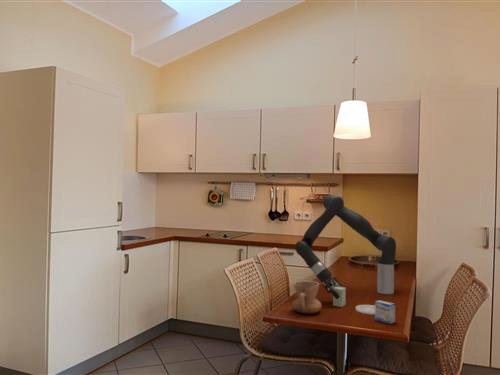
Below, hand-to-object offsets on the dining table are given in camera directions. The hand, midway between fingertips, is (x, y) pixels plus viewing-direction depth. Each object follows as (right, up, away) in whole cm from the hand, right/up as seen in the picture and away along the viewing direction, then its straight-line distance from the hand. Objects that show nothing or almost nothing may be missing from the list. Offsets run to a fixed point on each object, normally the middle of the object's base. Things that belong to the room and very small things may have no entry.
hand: (341, 296), depth 216 cm
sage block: (-1, -5, +1) cm, 5 cm away
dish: (+12, -5, -9) cm, 16 cm away
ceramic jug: (-20, -5, -12) cm, 24 cm away
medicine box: (+15, -5, -25) cm, 29 cm away
